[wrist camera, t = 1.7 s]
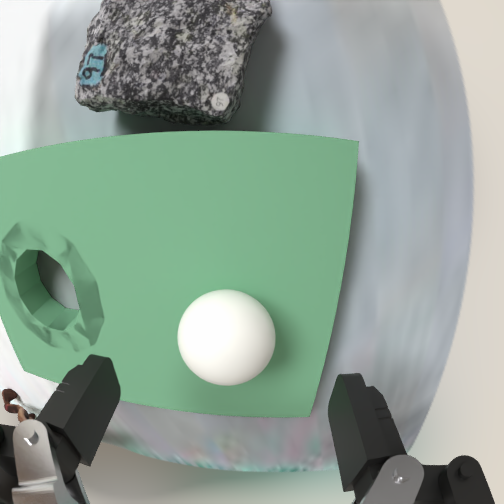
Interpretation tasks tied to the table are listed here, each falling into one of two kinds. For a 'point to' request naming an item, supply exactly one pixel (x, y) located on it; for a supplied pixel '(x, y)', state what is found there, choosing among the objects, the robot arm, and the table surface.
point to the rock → (169, 58)
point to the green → (178, 256)
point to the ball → (226, 337)
